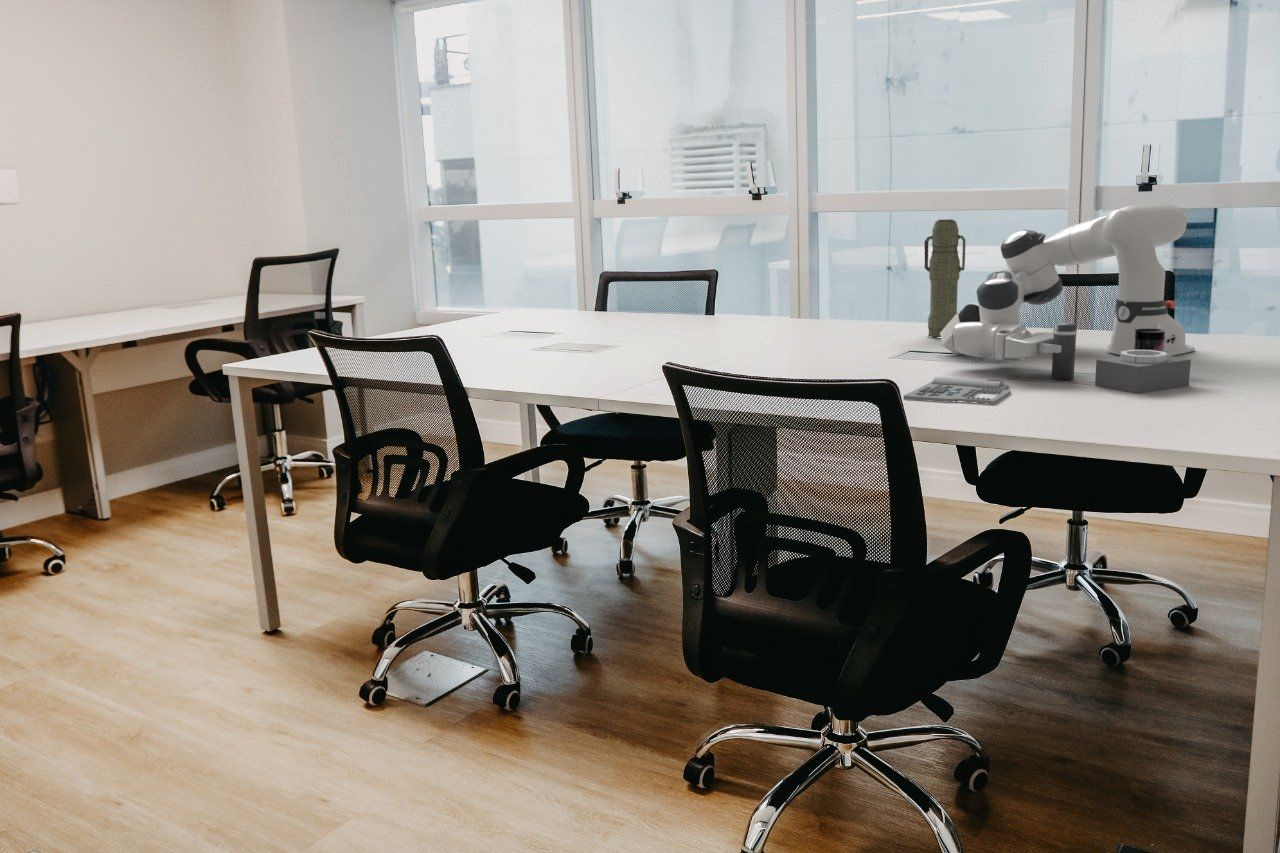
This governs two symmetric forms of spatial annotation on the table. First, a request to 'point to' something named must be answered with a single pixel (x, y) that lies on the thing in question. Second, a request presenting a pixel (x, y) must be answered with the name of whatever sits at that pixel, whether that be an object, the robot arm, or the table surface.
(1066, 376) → the lens
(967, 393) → the office telephone
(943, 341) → the jar
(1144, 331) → the supplement container
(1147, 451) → the table surface
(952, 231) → the thermos
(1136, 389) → the camera body
